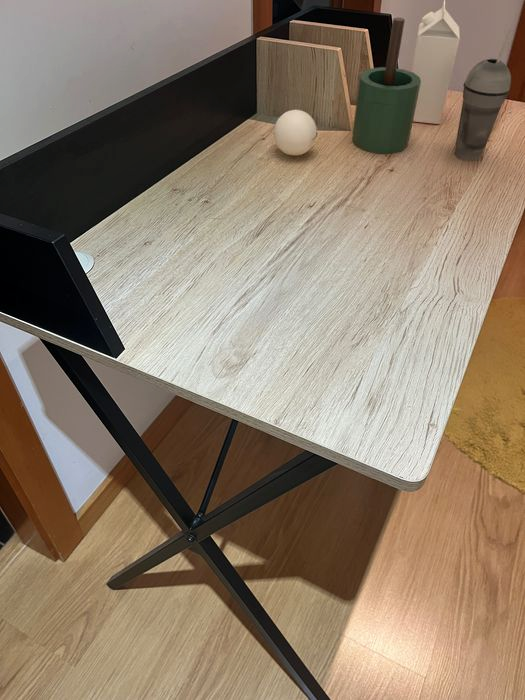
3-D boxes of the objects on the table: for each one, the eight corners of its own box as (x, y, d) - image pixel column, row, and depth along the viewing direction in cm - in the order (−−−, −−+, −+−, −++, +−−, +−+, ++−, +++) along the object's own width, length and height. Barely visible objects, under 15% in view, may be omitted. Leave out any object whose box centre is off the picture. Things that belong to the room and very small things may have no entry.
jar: (404, 130, 107) (416, 68, 99) (410, 155, 100) (424, 90, 92) (351, 128, 107) (358, 66, 99) (353, 152, 100) (362, 88, 92)
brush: (390, 132, 104) (410, 15, 91) (392, 142, 101) (413, 23, 88) (368, 131, 104) (385, 14, 91) (369, 141, 101) (387, 22, 88)
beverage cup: (453, 142, 103) (484, 18, 89) (493, 151, 101) (532, 26, 87) (441, 158, 99) (472, 31, 85) (483, 168, 96) (522, 39, 82)
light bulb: (309, 166, 96) (312, 123, 91) (267, 159, 98) (268, 116, 93) (324, 141, 103) (327, 100, 98) (284, 135, 105) (286, 94, 99)
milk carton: (440, 110, 113) (465, 1, 100) (439, 125, 108) (466, 13, 95) (403, 106, 114) (424, -2, 101) (401, 121, 110) (422, 9, 96)
